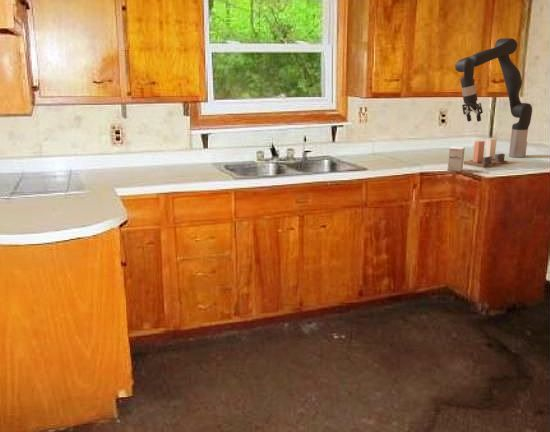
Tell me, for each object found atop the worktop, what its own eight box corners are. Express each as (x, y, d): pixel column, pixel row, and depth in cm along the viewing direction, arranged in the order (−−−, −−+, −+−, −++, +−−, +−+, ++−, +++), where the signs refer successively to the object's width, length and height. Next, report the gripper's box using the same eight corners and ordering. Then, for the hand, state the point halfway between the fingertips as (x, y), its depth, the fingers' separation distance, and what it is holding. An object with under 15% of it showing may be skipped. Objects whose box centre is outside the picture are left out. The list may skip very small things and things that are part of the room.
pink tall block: (478, 161, 313) (480, 140, 310) (482, 161, 311) (484, 141, 308) (472, 161, 311) (474, 141, 308) (477, 162, 308) (479, 142, 305)
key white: (490, 158, 322) (492, 138, 319) (494, 158, 320) (496, 138, 317) (484, 158, 320) (486, 138, 317) (489, 159, 317) (491, 139, 314)
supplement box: (447, 170, 297) (448, 147, 293) (449, 168, 303) (451, 146, 300) (460, 171, 294) (462, 148, 290) (463, 169, 300) (465, 146, 296)
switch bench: (488, 160, 326) (489, 151, 324) (507, 163, 315) (508, 154, 313) (463, 163, 315) (464, 154, 313) (483, 167, 304) (483, 157, 302)
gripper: (483, 91, 301) (487, 119, 306) (466, 92, 315) (471, 119, 319) (472, 95, 299) (477, 123, 304) (456, 96, 313) (461, 123, 317)
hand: (474, 121), depth 311 cm, fingers open, 8 cm apart
